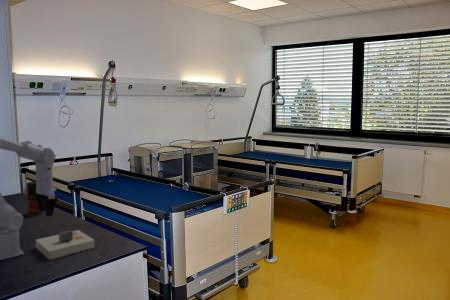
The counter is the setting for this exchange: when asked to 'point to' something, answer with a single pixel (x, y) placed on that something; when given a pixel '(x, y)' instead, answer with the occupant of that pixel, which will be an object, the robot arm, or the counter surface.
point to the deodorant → (32, 200)
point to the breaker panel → (64, 245)
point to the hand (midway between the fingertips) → (46, 213)
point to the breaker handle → (65, 236)
